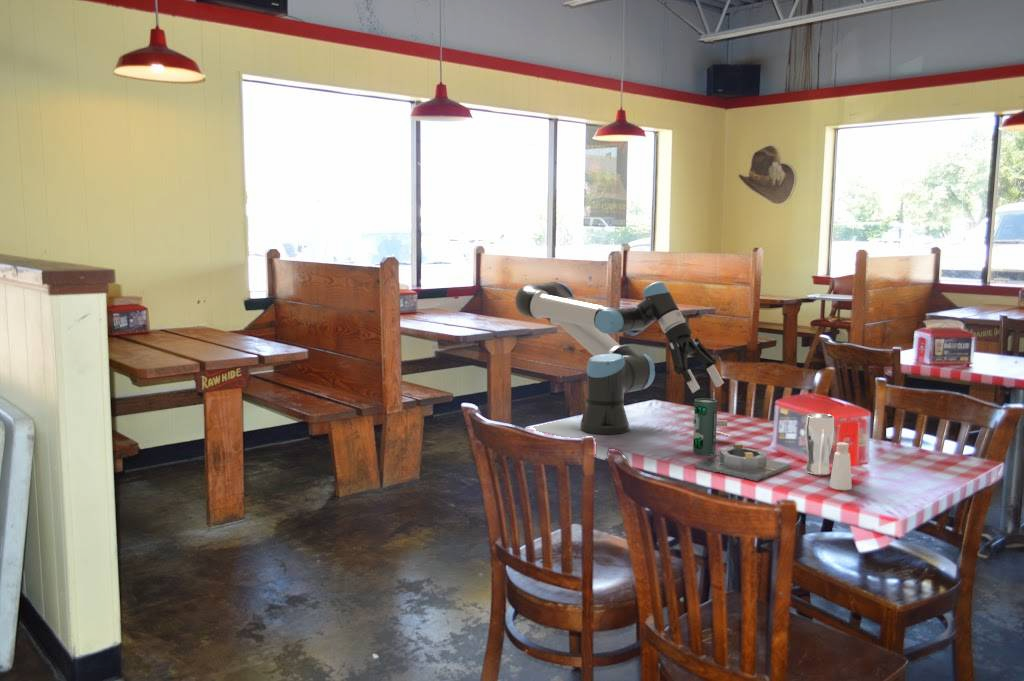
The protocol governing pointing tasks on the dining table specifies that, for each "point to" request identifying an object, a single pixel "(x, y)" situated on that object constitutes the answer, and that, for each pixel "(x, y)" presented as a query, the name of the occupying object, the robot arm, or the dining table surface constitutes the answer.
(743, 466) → the collar
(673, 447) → the dining table surface
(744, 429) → the dining table surface
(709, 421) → the can
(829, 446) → the beer glass
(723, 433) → the butter knife
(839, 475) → the pepper shaker
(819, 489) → the dining table surface
